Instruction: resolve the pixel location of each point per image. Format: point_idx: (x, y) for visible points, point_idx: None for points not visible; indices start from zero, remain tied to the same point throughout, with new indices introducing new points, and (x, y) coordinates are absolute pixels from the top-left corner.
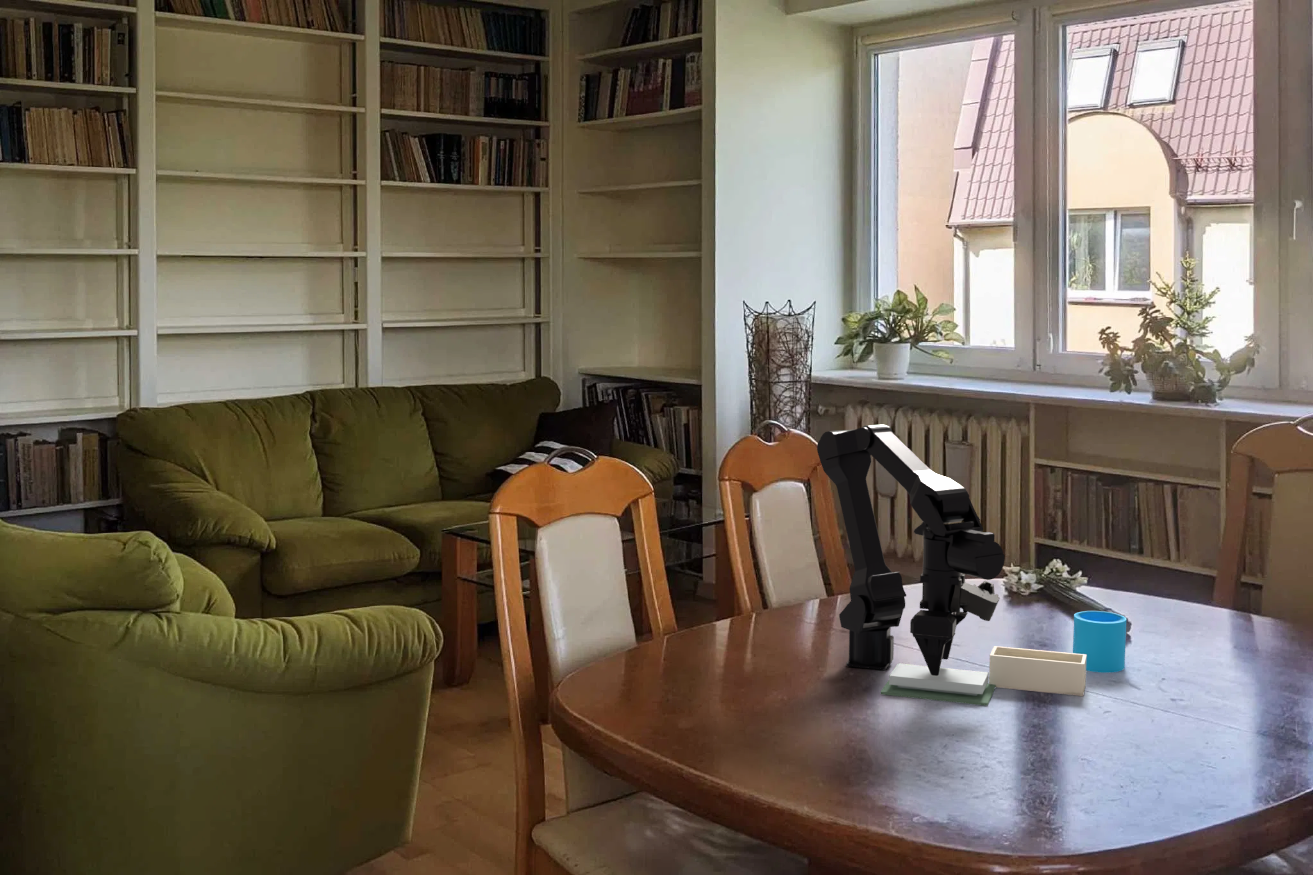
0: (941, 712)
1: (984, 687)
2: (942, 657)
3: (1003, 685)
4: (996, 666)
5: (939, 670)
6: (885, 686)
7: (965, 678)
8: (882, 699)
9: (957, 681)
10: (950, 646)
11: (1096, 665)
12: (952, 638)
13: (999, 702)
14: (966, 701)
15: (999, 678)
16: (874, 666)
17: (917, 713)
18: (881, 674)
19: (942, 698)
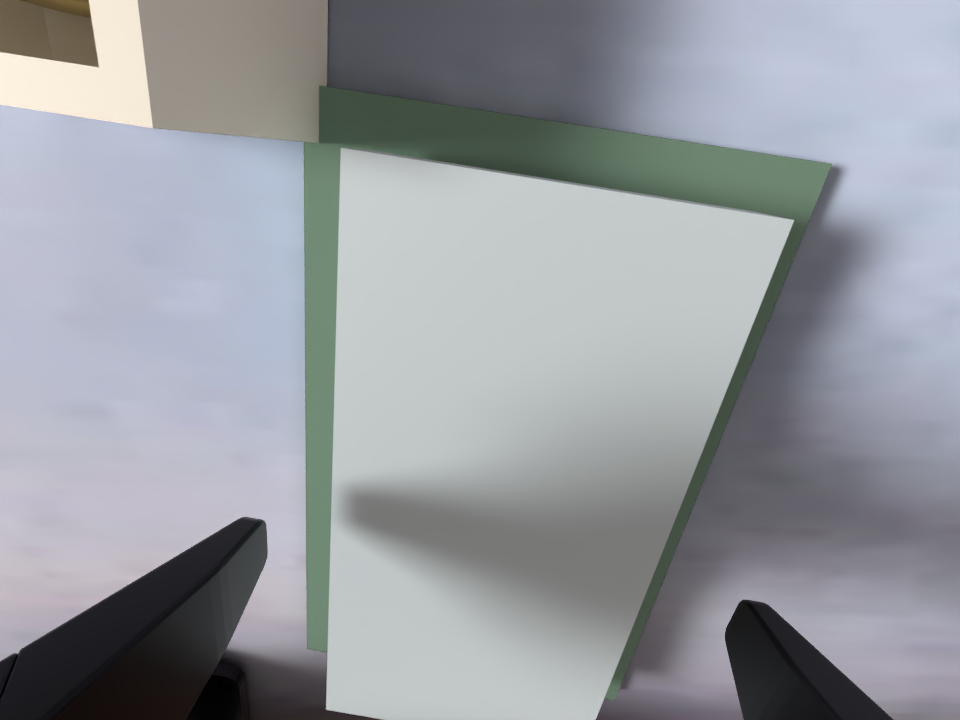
0: (933, 459)
1: (621, 190)
2: (260, 559)
3: (320, 9)
4: (232, 47)
5: (785, 632)
6: None
7: (585, 364)
8: (688, 682)
9: (680, 426)
10: (186, 599)
11: None
12: (98, 676)
13: (723, 59)
14: (764, 318)
15: (295, 36)
16: (241, 710)
17: (933, 567)
18: (301, 672)
19: (712, 458)
